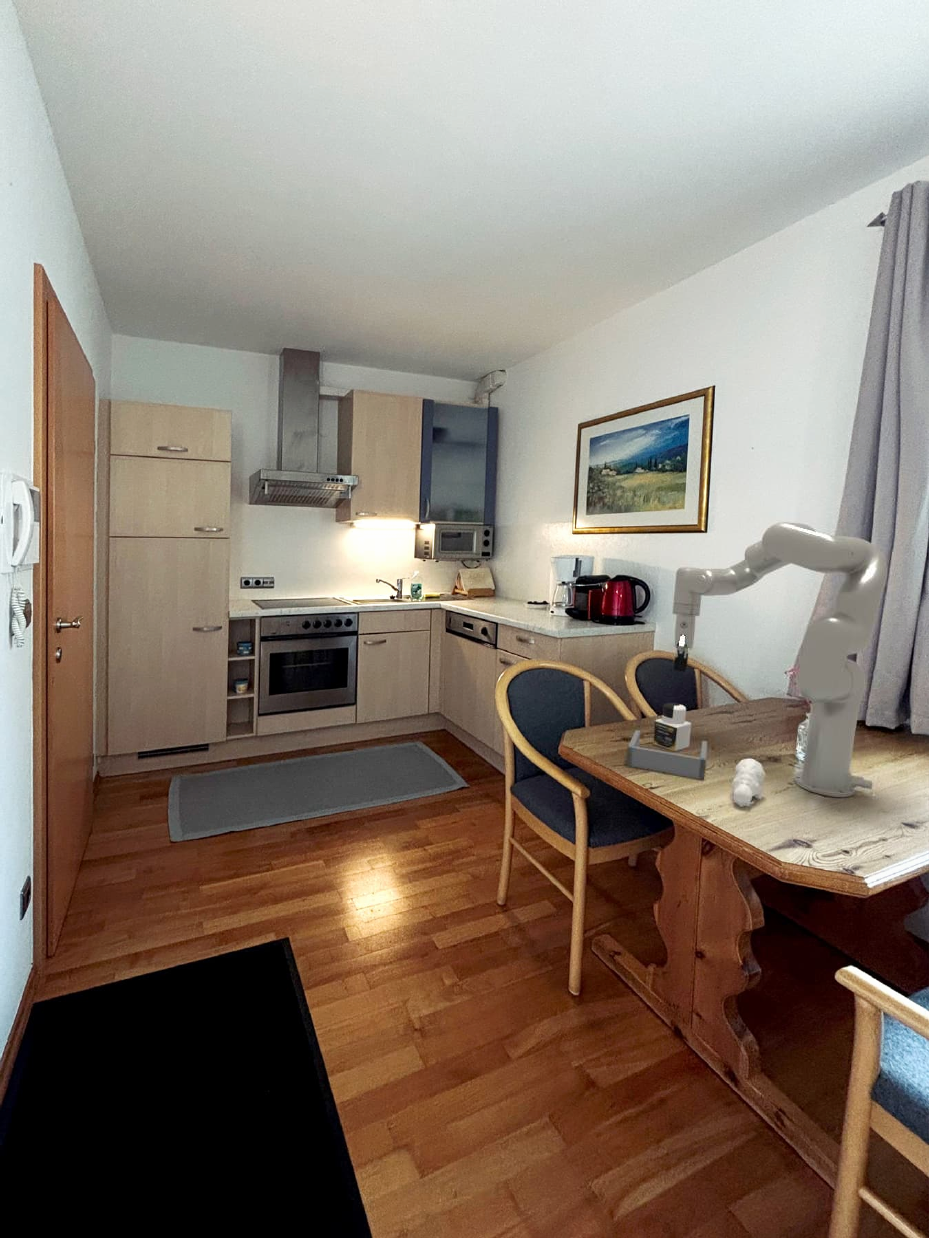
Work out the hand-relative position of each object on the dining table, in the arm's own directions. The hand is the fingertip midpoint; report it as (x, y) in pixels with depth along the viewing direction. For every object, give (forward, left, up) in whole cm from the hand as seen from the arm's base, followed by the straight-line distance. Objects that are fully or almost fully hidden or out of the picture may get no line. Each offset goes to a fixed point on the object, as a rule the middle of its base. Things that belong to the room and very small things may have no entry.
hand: (680, 667), depth 179 cm
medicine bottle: (0, +13, -20) cm, 24 cm away
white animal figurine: (-18, +43, -20) cm, 51 cm away
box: (0, +27, -20) cm, 34 cm away
